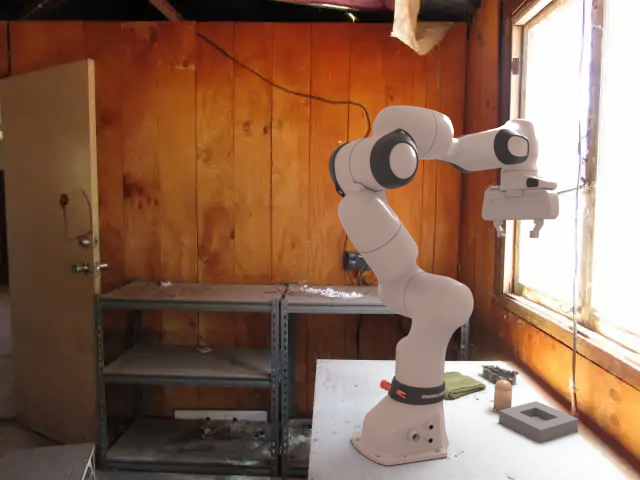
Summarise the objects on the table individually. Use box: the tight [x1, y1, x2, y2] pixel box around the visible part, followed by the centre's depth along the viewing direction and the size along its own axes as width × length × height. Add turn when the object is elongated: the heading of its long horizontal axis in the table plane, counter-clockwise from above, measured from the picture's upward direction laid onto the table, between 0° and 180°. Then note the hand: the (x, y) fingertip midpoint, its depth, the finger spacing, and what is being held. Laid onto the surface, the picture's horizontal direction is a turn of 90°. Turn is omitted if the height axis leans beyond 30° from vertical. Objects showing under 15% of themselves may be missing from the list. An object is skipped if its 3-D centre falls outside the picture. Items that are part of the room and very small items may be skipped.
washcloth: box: [444, 370, 487, 400], centre depth 148 cm, size 13×18×3 cm
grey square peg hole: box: [498, 400, 579, 443], centre depth 123 cm, size 14×12×3 cm
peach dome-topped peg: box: [493, 380, 513, 412], centre depth 132 cm, size 4×4×8 cm
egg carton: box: [481, 364, 519, 386], centre depth 156 cm, size 11×8×4 cm
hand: (517, 237), depth 127 cm, fingers open, 8 cm apart
